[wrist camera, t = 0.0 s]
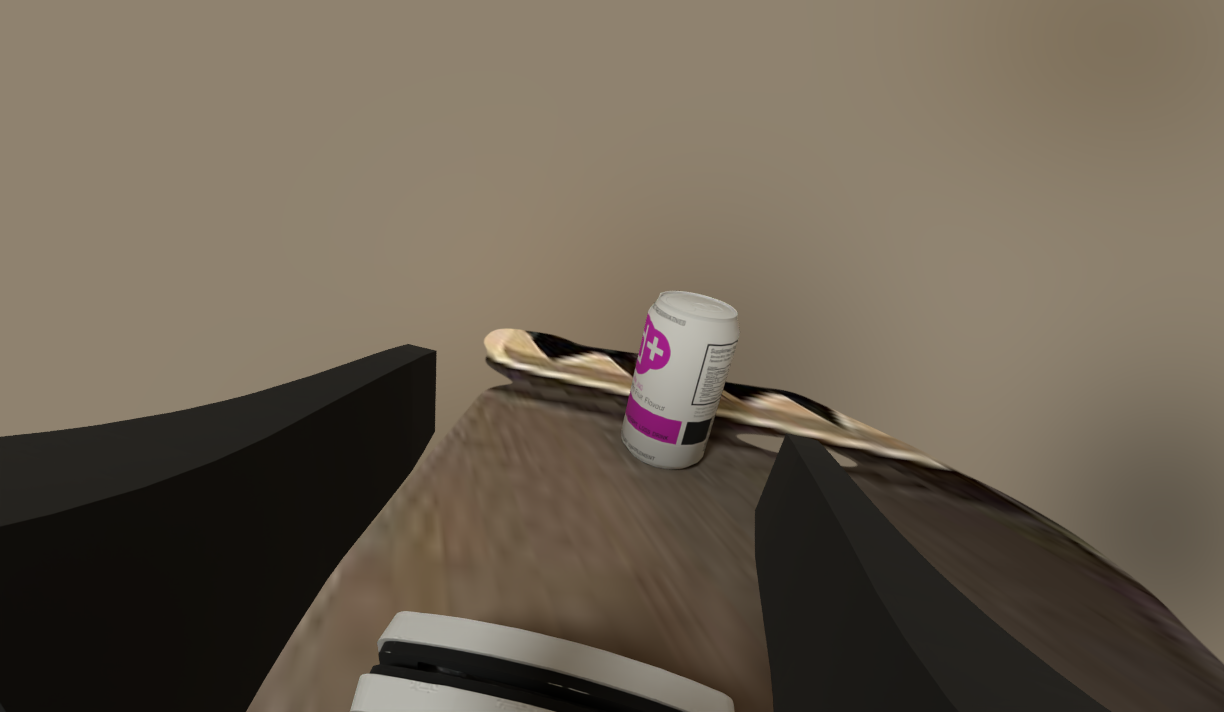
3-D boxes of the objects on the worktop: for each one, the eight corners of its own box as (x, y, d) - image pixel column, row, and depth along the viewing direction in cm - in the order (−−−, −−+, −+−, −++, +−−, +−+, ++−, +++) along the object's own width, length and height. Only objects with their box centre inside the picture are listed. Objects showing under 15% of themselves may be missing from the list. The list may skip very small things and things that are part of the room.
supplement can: (626, 470, 48) (664, 313, 42) (614, 422, 55) (644, 283, 49) (712, 476, 49) (759, 327, 43) (688, 429, 57) (726, 295, 51)
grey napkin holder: (711, 725, 28) (775, 661, 21) (706, 844, 24) (781, 814, 18) (408, 645, 29) (377, 559, 22) (361, 750, 25) (307, 686, 19)
